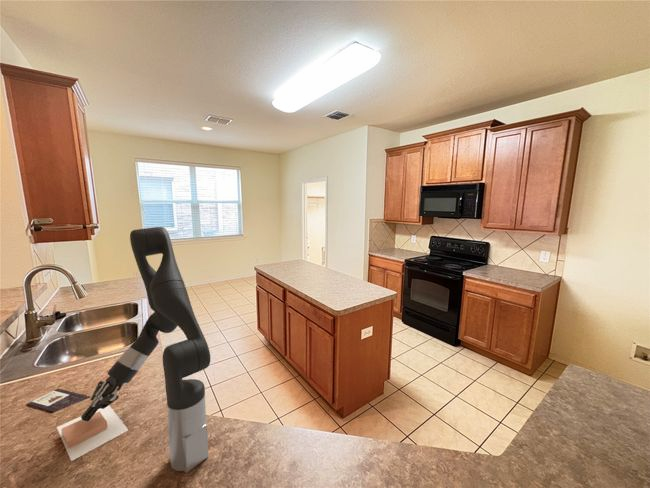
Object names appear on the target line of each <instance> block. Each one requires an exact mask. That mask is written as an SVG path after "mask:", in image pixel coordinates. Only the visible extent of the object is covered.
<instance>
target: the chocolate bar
mask: <svg viewBox="0 0 650 488" xmlns="http://www.w3.org/2000/svg"><path fill="white" fill-rule="evenodd" d="M89 398H90V399H91V396H89V395H86V394H82V393H79V392H78V393H77V392H73V391H70V390H67V389H61V388H57V389H54V390H52V391H50V392H48V393H46V394H44V395H41V396H40V397H38V398H36V399H34V400H31V401H30V402H28V403H26V406H27V407H31V408H34V409H38V410H41V411H45V412H48V413H50V414H51V413H52V414H54V413H56V412H59V411H61V410H63V409H65V408H69V407H71V406H73V405H75V404H78V403H81V402H83V401H85V400H88V399H89Z"/></svg>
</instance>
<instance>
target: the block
mask: <svg viewBox="0 0 650 488" xmlns="http://www.w3.org/2000/svg"><path fill="white" fill-rule="evenodd" d="M105 429H107V421H106V420H105V418H104V417H103V416H102V414H101V413H100V411H99V412H97V413H95V414H94V415H93V416H92V418H91V419H90V420H89V421H84V420H79V421H77V422H75V423H73V424H71V425H69V426H66V427H64V428H62V429H61V431H62V436H63V439H64V441H65V443H66V445H67V447H68V448H70V447H72V446H74V445H76V444H77V443H79V442H81V441H83V440H85V439H87V438H89V437H91V436H93V435H95V434H97V433H99V432H101V431H103V430H105Z"/></svg>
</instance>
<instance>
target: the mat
mask: <svg viewBox="0 0 650 488" xmlns="http://www.w3.org/2000/svg"><path fill="white" fill-rule="evenodd" d="M99 411H100V413H101V414H102V416H103V417H104V418H105V420H106V421H107V429H105V430H103V431H101V432H99V433H97V434H95V435H93V436H91V437H89V438H87V439H85V440H83V441H81V442H79V443H77V444H76V445H74V446H72V447H70V448H68V447H67V445H66V443H65V441H64V439H63V436H62V431H61V429H62V428H64V427H66V426H69V425H71V424H73V423H75V422H77V421H79V420H82V419H81V416H79V417H76V418H74V419H72V420H70V421H68V422H65V423H63V424H61V425H59V426H56V429H57V432H58V434H59V436H60V438H61V441H62V442H63V445H64V448H65V450H66V453H67V454H68V455H67V456H68V457H69V460H70V461H71V462H72V461H74V460H76V459H78V458H79V457H82V456H84V455H85V454H87V453H90V452H91V451H93V450H95V449H97V448H98V447H100V446H102V445H103V444H107V443H108V442H109V441H111V440H113V439H115V438H117V437H118V436H121V435H122V434H124V433H125V432H128V431H129V429H128V427H127V426H126V425H125V424H124V422H123V421H122V420H121V418H120V417H119V416H118V415H117V413H116V412H115V410H114V409H113V408H112V407H111V406H110V405H109V406H107V407H106V408H104V409H101V408H100V409H98V410H97V411H96V413H97V412H99Z"/></svg>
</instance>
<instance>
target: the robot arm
mask: <svg viewBox="0 0 650 488" xmlns="http://www.w3.org/2000/svg"><path fill="white" fill-rule="evenodd" d="M129 241H130V246H131V250H132V253H133V256H134V259H135V262H136V265H137V269H138V271H139V273H140V277H141V279H142V281H143V284H144V288H145V290H146V296H147V300H148V305H149V307H150V309H151V310H152V311H153V313H151V314H150V315H149V317H148V318H147V320H146V321H145V324H144V325H143V326H142V329H141V331H140V333H139V335H138V337H136V339H135V340H134V341H133V342H132V343H131V345H130V346H129V347H128V348H127V349H126V350H125V351H124V352H123V353H122V354H121V356H119V358H118V359H117V360H116V362H115V363H114V364H113V365H112V366H111V367H110V369H108V371H107V375H108V377H107V378H105V380H104V381H102V380H100V381H98V383H97V386H96V388H95V389H94V391H93V394H92V395H91V397H90V403H89V404H90V405H89V406H88V408H87V409H86V410H85V411H84V412H83V414H81V416H80V417H81V419H82V420H84V421H89V420H90V419H91V418H92V416H93V415H94V414H95V413H96V411H97V410H98V409H100V408H101V409H104V408H106V407H107V406H110V405H111V404H113V403H114V402H116V401H117V400H118V399H119V398H120V396H119V395H118V392H119V391H120V390H121V389H122V387H123V385H124V384H128V383H130V382H131V381H132V380H133V379H134V377H135V376H136V374H137V373H138V372H139V370H140V369H141V368H142V367H143V365H145V363H146V361H147V360H148V358H149V356H150V355H151V354H152V352H153V351H154V350H155V349H156V348H157V346H158V345H159V343H160V342H159V339H158V337H157V336H158V334H159V332H161V333H163V334H170V333H172V332H175V330H176V329H177V327H179V329H181V331H182V333H184V335H185V338H186V340H185V339H184V340H183V341H178V342H174V343H173V344H170V345H167V346H165V348H164V349H163V352H162V368H163V375H164V382H165V383H164V385H165V394H166V395H165V396H166V408H167V409H166V410H167V425H168V426H167V428H168V441H169V442H168V444H169V460H170V461H169V462H170V468H171V469H173V470H174V471H176V472H184V473H185V474H187V473H189V472H191V470H193V469H194V468H196V467H197V466H199V464H201V463H202V462H203V461H205V460H206V459H207V458H209V442H208V441H209V438H208V425H207V411H206V410H207V409H206V389H205V388H206V387H205V384H204V382H203V381H201V380H200V379H194V378H188V379H185V378H187V377H190V376H192V375H195V374H197V373H199V372H201V371H204V370H206V369H207V368H208V367H210V364H211V353H210V347H209V345H208V343H207V339H206V337H205V335H204V333H203V331H202V329H201V327H200V324H199V322H198V319H197V317H196V316H195V312H194V310H193V307H192V303H191V299H190V297H189V294H188V290H187V287H186V285H185V282H184V279H183V277H182V275H181V270H180V269H179V267H178V263H177V260H176V256H175V253H174V250H173V249H174V248H173V244H172V241H171V238H170V234H169V232H168V230H167V229H166V227H164V226H155V227H154V226H153V227H146V228H139V229H133V230H131V231H130V235H129ZM158 254H159V255H162V257H161V261H160V264H159V266H158V268H157V270H155V269H154V267H152V265H150V263H149V262H148V259H147V257H148V256H155V255H158Z"/></svg>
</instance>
